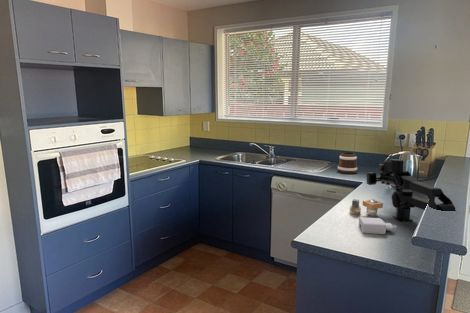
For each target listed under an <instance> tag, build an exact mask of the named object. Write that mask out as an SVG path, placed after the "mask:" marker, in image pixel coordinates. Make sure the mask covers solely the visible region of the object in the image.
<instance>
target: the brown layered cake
mask: <svg viewBox="0 0 470 313" xmlns="http://www.w3.org/2000/svg"><path fill="white" fill-rule="evenodd" d="M357 159H358V156H357V154H355V153H354V152H341V153H340V155H339V162H338V165H337V172H338V173H340V174H344V175H345V174H346V175H352V174H354V175H355V174H357V173H358V166H357V165H358V164H357Z"/></svg>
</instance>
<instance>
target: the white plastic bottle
mask: <svg viewBox="0 0 470 313" xmlns="http://www.w3.org/2000/svg"><path fill="white" fill-rule="evenodd" d="M358 227H360V228H359V230H360V231H361V233H362V234H370V235H371V234H374V235H385V234H386V231H393V230H394V228H395V229H397V228H398V226H397V225H396V224H392V223H390V222H385V221H384V220H383V219H382V218H380V217H362V216H361V217H358Z"/></svg>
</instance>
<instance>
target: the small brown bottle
mask: <svg viewBox="0 0 470 313" xmlns="http://www.w3.org/2000/svg"><path fill="white" fill-rule="evenodd" d="M351 202H352V203H351V204H350V206H349V214H351V215H354V214H355V215H354V216H357V215H358V216H359V215H361V213H362V212H361V209H362V207H361V206H360V199H355V198H353V199H352V200H351Z"/></svg>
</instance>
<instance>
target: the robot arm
mask: <svg viewBox="0 0 470 313" xmlns="http://www.w3.org/2000/svg"><path fill="white" fill-rule="evenodd" d="M377 168H378V170H379V171H380V172H379V174H380V175H379V176H377V173H376V172H367V173H366V184H367V185H368V186H373V185H376V184H377V182H380V184H382V185H383V184H385V185H387V186H389V185H390V186H395V187H394V188H395V189H394V191H393V193H392V194H391V202H392V206H393V207H394V208H395V215H393V216H392V218H394V219H395V220H397V221H399V222H412V221H414V220H413V219H412V218H411V209H412V208H419V209H421V210H423V211H426V210H425V208H426V206H427V204H428V205H429V207H431V208H433V209H436V210H441V211H456V212H457V209H456V207H455V205H454V203H453V202H452V199H450V197H448V196H447V195H446V194H445V193H444V192H443V190H442V189H441V188H439V187H435V186H433V185H429V184H427V183H424V182H421V181H418V179H417V178H416V177H414V176H412V175H411V173H410V172H409V171H408V170H404V160H403V159H402V158H401V159H400V158H394V159H393V158H391V159H390V160H389V161H382V162H379V164H378V165H377ZM414 192H416V193H419V194H422V195H424V196H427V198H428V199H425V198H421V197H418V196H415V195H414ZM436 198H437V199H438V200H439V201H440V202H435V201H436ZM455 209H456V210H455Z"/></svg>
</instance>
